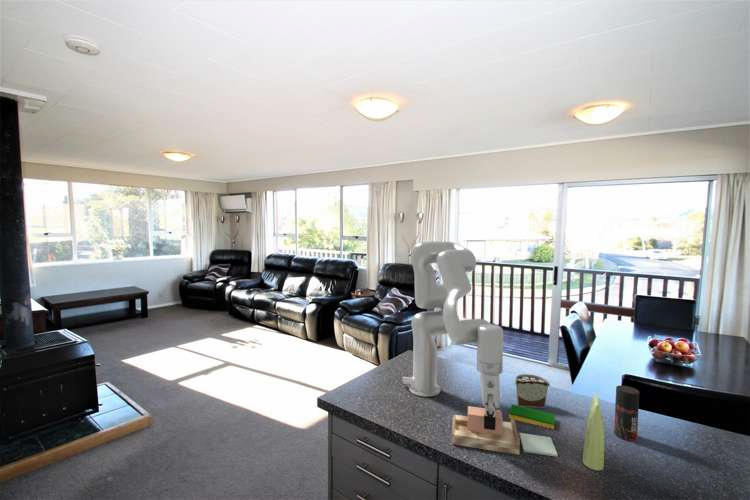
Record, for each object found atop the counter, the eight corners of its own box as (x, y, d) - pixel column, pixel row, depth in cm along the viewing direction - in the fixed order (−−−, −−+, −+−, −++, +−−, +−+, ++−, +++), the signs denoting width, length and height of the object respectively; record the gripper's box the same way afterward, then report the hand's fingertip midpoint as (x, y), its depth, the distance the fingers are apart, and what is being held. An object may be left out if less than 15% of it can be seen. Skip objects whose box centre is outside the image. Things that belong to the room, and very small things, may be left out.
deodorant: (630, 443, 108) (632, 395, 107) (610, 433, 113) (612, 387, 112) (640, 438, 110) (643, 391, 110) (620, 429, 116) (622, 384, 115)
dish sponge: (511, 410, 128) (511, 403, 128) (554, 420, 121) (554, 414, 121) (508, 419, 122) (508, 412, 121) (553, 430, 115) (553, 423, 115)
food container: (542, 400, 135) (543, 374, 135) (548, 408, 129) (550, 381, 129) (509, 398, 136) (510, 372, 136) (514, 406, 130) (515, 379, 130)
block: (468, 414, 108) (502, 418, 105) (467, 406, 113) (501, 410, 110) (467, 430, 108) (502, 435, 105) (467, 421, 113) (500, 426, 110)
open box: (451, 444, 106) (451, 429, 106) (453, 423, 118) (453, 410, 117) (519, 454, 101) (519, 439, 101) (513, 432, 113) (514, 418, 113)
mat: (523, 451, 103) (523, 449, 103) (519, 434, 112) (519, 432, 112) (557, 456, 101) (557, 454, 101) (550, 439, 109) (550, 437, 109)
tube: (610, 471, 95) (613, 400, 94) (594, 474, 94) (598, 401, 93) (593, 458, 100) (596, 390, 99) (577, 460, 99) (580, 392, 98)
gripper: (505, 377, 99) (504, 437, 99) (499, 357, 115) (498, 409, 116) (477, 374, 101) (476, 434, 101) (476, 355, 117) (475, 406, 118)
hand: (488, 420), depth 109 cm, fingers open, 9 cm apart
